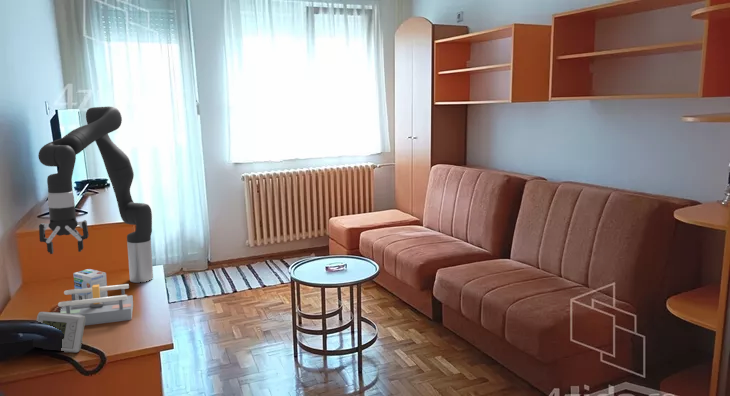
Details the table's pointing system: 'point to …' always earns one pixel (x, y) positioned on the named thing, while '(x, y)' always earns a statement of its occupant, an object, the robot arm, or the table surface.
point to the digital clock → (66, 328)
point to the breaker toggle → (96, 296)
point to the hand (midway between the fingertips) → (65, 252)
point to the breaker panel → (109, 312)
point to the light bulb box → (89, 282)
